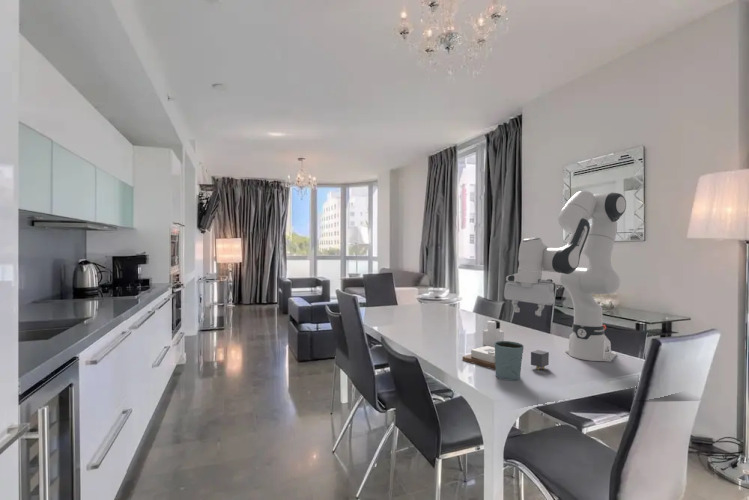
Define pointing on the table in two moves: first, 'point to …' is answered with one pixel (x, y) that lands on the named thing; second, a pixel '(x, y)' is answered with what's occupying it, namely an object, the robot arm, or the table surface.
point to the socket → (484, 354)
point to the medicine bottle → (492, 333)
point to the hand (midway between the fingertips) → (527, 314)
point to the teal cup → (508, 359)
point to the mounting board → (479, 361)
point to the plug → (539, 359)
